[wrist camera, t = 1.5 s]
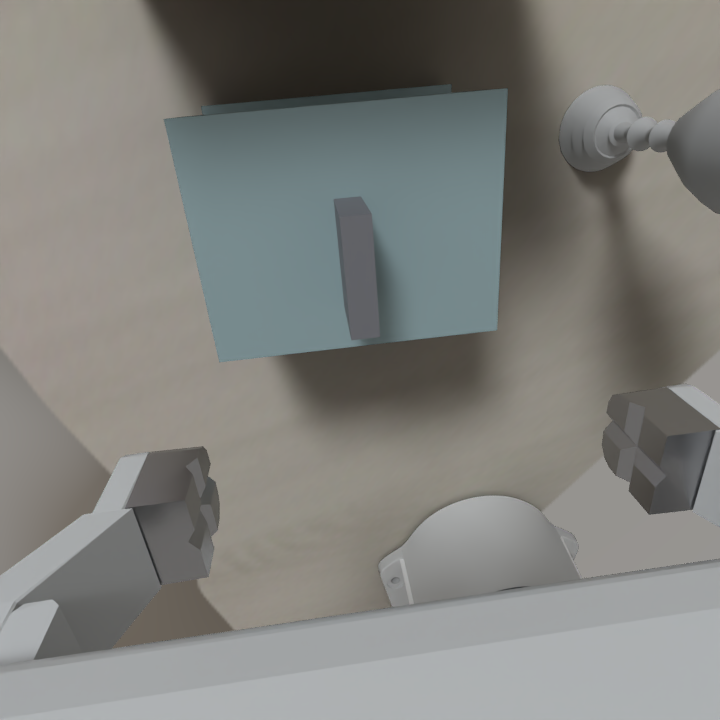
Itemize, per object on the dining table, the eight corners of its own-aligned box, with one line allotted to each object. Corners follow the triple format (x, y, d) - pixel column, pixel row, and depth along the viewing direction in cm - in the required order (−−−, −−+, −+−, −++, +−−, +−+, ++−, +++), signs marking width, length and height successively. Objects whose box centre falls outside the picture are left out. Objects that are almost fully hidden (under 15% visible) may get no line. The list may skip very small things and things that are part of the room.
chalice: (669, 75, 32) (1041, 47, 16) (634, 189, 35) (917, 264, 19) (557, 62, 31) (832, 19, 15) (531, 181, 34) (736, 252, 18)
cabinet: (443, 268, 36) (527, 366, 23) (242, 289, 35) (206, 404, 22) (442, 85, 31) (550, 72, 18) (206, 106, 30) (131, 109, 17)
